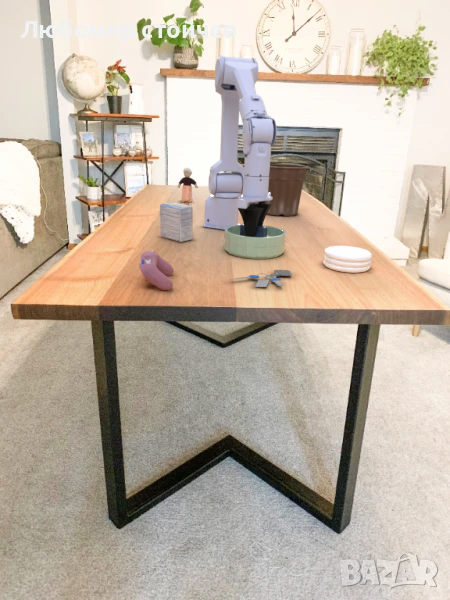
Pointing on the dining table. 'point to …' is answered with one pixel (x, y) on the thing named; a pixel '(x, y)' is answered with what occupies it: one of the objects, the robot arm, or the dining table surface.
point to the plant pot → (285, 188)
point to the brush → (259, 233)
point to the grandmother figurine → (187, 186)
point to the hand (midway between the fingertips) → (252, 235)
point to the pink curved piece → (156, 270)
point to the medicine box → (176, 221)
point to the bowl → (254, 243)
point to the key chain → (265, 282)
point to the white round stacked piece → (347, 259)
